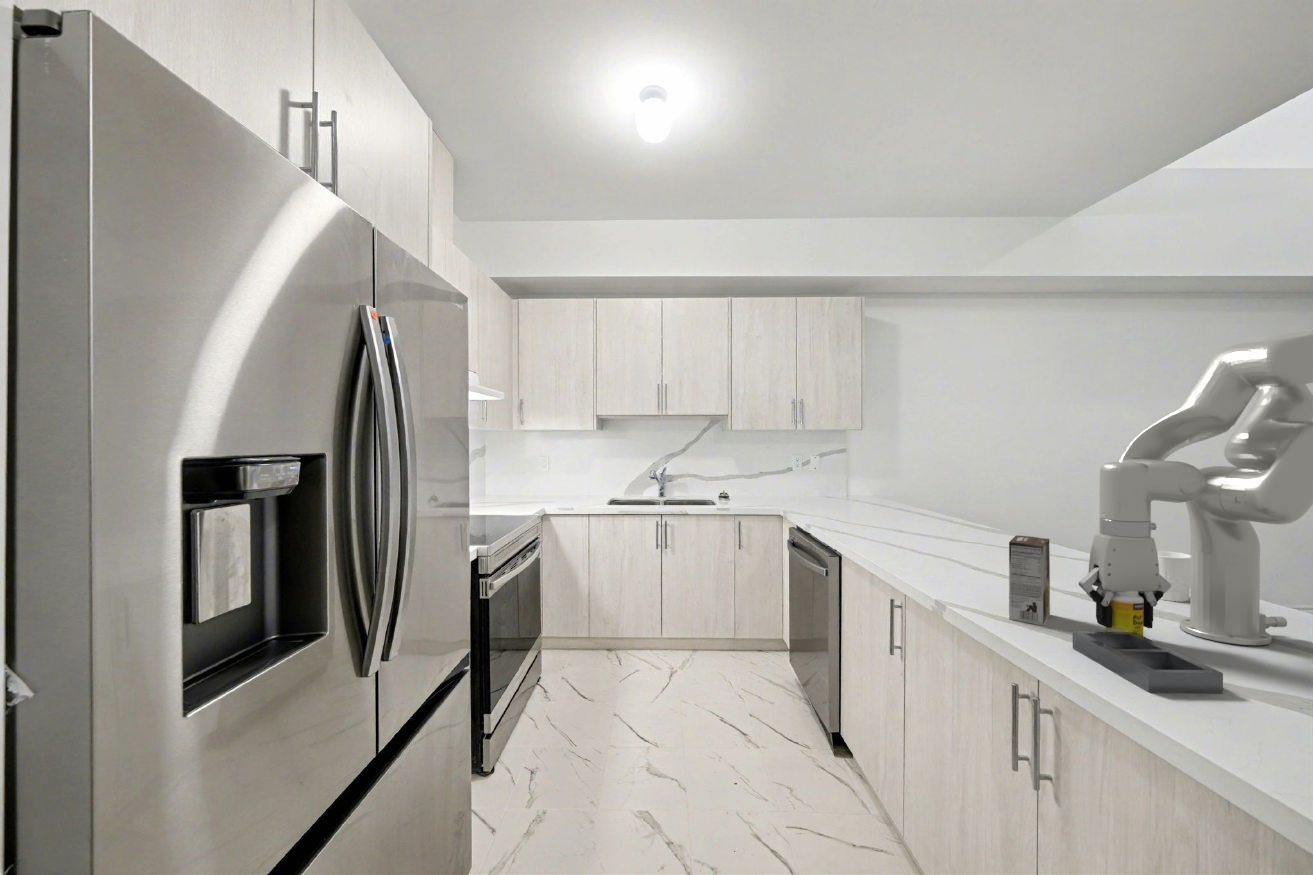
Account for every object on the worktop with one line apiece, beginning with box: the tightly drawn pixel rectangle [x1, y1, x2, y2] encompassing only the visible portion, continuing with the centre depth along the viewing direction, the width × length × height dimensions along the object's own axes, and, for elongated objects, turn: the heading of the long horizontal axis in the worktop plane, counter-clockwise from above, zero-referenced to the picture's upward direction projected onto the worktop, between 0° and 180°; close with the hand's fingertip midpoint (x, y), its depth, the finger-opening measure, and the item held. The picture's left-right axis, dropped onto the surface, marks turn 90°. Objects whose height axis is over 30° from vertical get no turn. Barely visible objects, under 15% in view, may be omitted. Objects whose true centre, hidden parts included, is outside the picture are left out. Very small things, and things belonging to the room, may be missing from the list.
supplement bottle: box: [1105, 591, 1144, 636], centre depth 112 cm, size 6×6×10 cm
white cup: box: [1157, 550, 1191, 603], centre depth 139 cm, size 8×8×10 cm
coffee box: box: [1008, 535, 1051, 626], centre depth 126 cm, size 9×6×16 cm
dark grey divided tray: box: [1072, 631, 1224, 694], centre depth 99 cm, size 18×10×3 cm, turn 177°
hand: (1124, 624), depth 113 cm, fingers open, 6 cm apart
